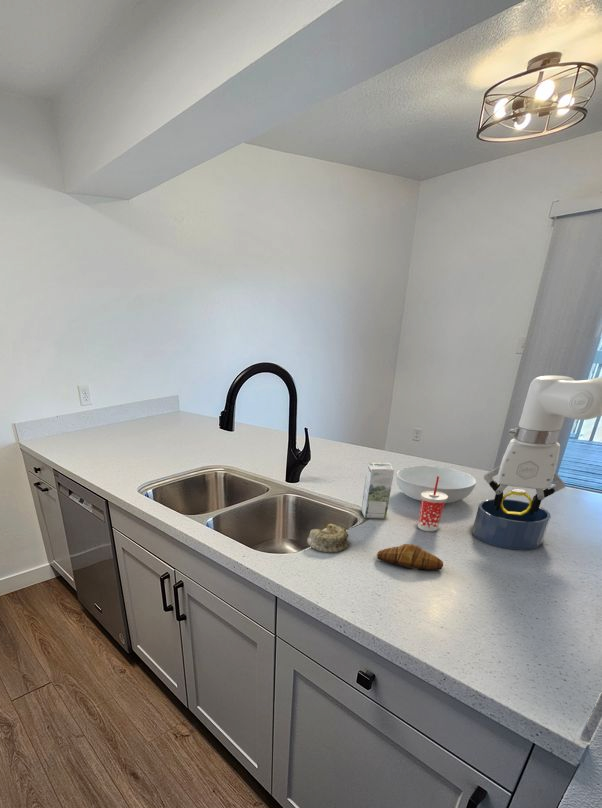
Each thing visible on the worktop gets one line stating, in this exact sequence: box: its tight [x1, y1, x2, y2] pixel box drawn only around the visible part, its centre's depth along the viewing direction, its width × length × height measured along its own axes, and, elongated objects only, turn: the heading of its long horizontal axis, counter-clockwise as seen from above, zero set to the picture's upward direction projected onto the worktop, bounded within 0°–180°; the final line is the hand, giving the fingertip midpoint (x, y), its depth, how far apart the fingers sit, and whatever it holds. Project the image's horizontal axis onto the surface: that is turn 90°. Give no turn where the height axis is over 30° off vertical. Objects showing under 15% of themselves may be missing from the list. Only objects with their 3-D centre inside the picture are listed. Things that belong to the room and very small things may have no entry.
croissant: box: [376, 543, 444, 571], centre depth 96 cm, size 14×7×5 cm, turn 64°
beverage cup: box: [417, 476, 448, 532], centre depth 110 cm, size 6×6×14 cm
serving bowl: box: [395, 465, 477, 504], centre depth 129 cm, size 21×21×7 cm
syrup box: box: [360, 462, 395, 520], centre depth 118 cm, size 6×6×14 cm
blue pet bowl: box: [471, 498, 552, 551], centre depth 105 cm, size 14×14×7 cm
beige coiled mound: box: [306, 523, 349, 553], centre depth 107 cm, size 10×10×5 cm
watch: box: [500, 488, 533, 516], centre depth 103 cm, size 6×3×6 cm, turn 55°
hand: (513, 510), depth 104 cm, fingers closed on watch, 6 cm apart
